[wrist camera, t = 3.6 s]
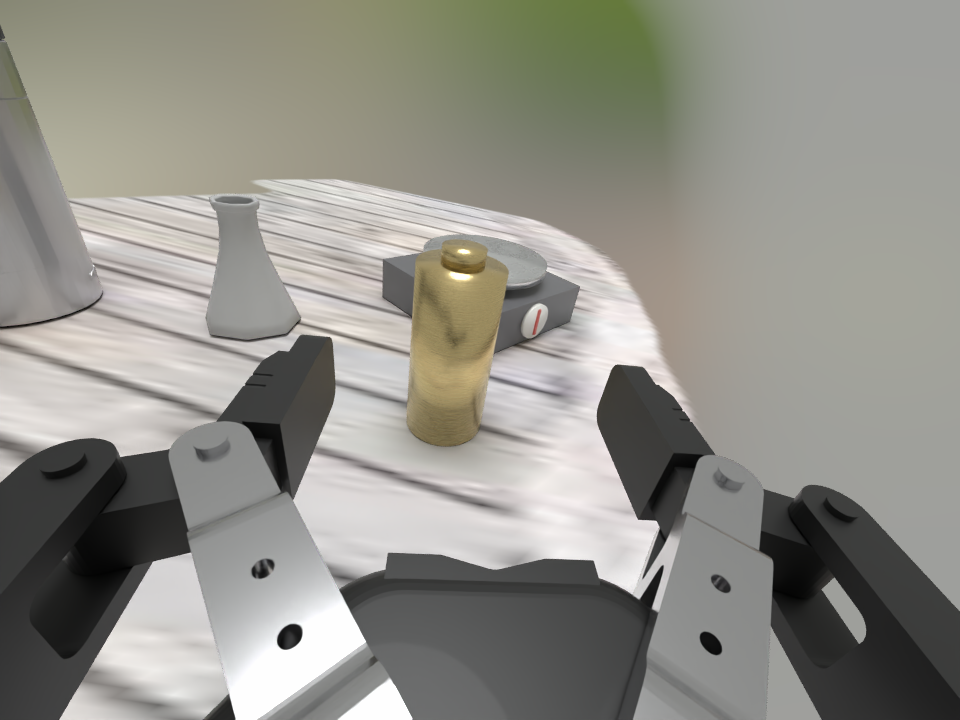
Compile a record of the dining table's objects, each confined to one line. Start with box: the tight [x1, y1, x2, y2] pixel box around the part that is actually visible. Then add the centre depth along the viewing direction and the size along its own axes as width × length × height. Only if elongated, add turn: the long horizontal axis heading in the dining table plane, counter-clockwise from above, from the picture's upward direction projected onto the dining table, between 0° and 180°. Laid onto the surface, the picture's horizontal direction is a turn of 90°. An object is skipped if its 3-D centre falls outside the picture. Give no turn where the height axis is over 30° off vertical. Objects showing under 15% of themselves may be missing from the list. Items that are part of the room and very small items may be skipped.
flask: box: [206, 194, 301, 340], centre depth 32 cm, size 7×7×10 cm
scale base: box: [383, 253, 580, 353], centre depth 41 cm, size 14×15×4 cm
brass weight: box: [406, 239, 509, 446], centre depth 25 cm, size 5×5×12 cm
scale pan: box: [423, 235, 547, 290], centre depth 40 cm, size 12×12×1 cm
